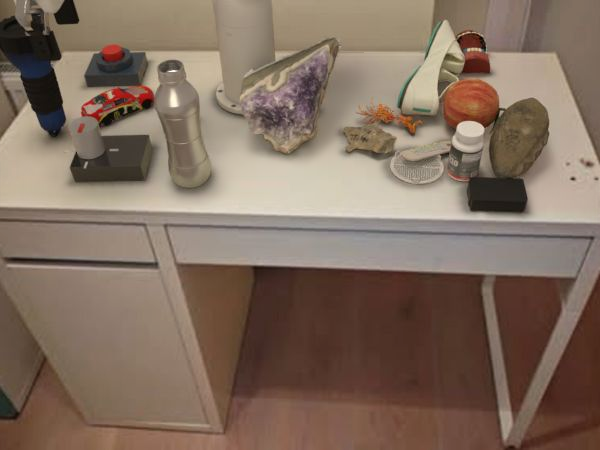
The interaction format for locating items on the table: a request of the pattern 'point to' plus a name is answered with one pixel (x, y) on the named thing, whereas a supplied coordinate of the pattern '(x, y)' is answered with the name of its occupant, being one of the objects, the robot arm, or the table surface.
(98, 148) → the stove knob
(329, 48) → the gemstone
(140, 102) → the race car
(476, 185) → the ink cartridge
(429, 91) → the white wedge shoe
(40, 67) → the flashlight
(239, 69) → the robot arm
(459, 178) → the pill bottle
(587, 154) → the table surface
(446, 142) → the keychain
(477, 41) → the dental model
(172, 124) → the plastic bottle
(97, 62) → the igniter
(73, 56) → the table surface
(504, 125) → the stone
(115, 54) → the button
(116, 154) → the panel
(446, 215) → the table surface
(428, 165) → the drain cover
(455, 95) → the fruit
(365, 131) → the artifact
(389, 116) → the dragon
